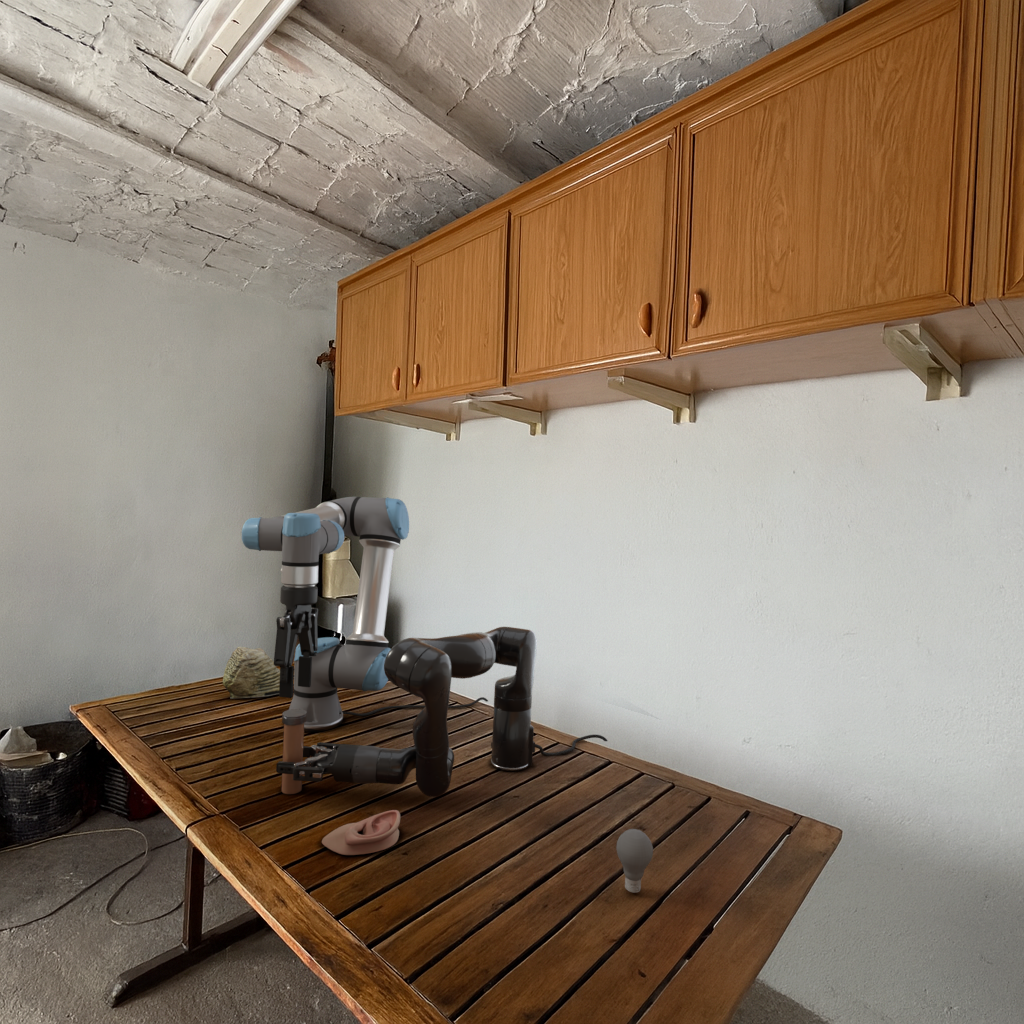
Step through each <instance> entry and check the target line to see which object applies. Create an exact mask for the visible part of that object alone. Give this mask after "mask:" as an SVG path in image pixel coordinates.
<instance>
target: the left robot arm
mask: <svg viewBox="0 0 1024 1024" xmlns="http://www.w3.org/2000/svg"><path fill="white" fill-rule="evenodd" d="M409 533H410V517H409V511H408V508H407V506H406V504H405V502H404V501H403V500H402V499H399V498H391V497H376V496H375V497H374V496H372V497H370V496H346V497H341V498H336V499H332V500H327V501H324V502H321V503H319V504H318V505H317V506H316V507H314V508H313V507H312V508H309V509H304V510H300V511H296V512H288V513H286V514H282V515H279V516H273V517H262V516H261V517H249V518H248V519H247V520H245V522H244V523H243V525H242V528H241V542H242V544H243V545H244V547H245V548H247V549H248V550H252V551H253V550H255V551H259V552H261V551H265V552H266V551H267V552H281V568H280V573H281V574H280V575H281V576H280V583H281V584H282V585H281V587H280V595H279V599H280V600H279V601H280V603H281V604H282V605H284V606H285V610H284V615H283V616H277V617H276V620H275V623H276V634H275V644H274V654H273V655H274V656H273V661H274V665H275V666H276V667H279V670H280V685H279V694H278V697H279V698H287V699H288V698H289V699H291V702H290V704H289V708H288V710H291V709H302V710H305V711H306V712H307V717H306V722H305V723H304V733H316V732H325V731H329V730H332V729H335V728H337V727H339V726H340V725H342V723H343V722H344V715H346V716H347V715H349V716H355V717H366V716H371V715H374V714H375V713H379V712H381V711H386V710H394V709H424V708H425V707H426V706H425V704H423V705H422V704H421V705H420V704H418V705H417V704H413V705H412V704H411V705H410V704H408V705H405V704H404V705H390V706H383V707H380V708H375V709H374V710H371V711H369V712H363V713H362V712H361V713H358V712H352V711H343V709H342V706H341V702H340V699H339V695H338V689H345V690H356V691H363V692H368V691H369V692H377V691H378V692H379V691H381V690H382V689H383V688H384V687H385V686H386V685H387V684H388V682H389V679H388V678H387V677H386V675H385V671H384V662H385V659H386V656H387V654H388V653H389V651H390V650H391V649H392V648H390V647H389V639H387V637H385V628H386V621H387V612H388V605H389V595H390V587H391V579H392V571H393V570H392V569H393V564H394V563H393V562H394V554H395V551H396V550H397V549H399V548H400V547H401V541H402V540H406V539H407V538H408V536H409ZM345 536H347V537H348V536H349V537H359V539H358V542H359V543H360V545H361V546H362V547H363V550H362V558H361V565H360V574H359V582H358V588H357V597H356V604H355V611H354V620H353V625H352V632H351V634H350V635H348V636H347V637H346V638H345V644H341V641H340V639H339V638H338V637H334V636H331V637H330V636H325V637H318V635H319V634H318V617H319V616H318V615H319V608H318V607H312V605H315V604H316V603H317V602H318V592H319V591H318V590H319V589H318V586H317V584H318V583H319V560H320V559H319V558H320V555H324V554H326V555H327V554H332V553H333V552H335V551H336V552H337V551H338V550H339V549H340V548H341V547H342V545H343V544H344V541H345ZM297 642H298V644H297ZM293 662H294V665H293ZM480 701H484V702H489V699H487V698H486V697H483V696H482V697H479V698H477V699H476V700H474V701H473V702H470V703H466V704H465V703H464V704H458V705H448V709H459V708H460V709H461V708H467V707H471V706H474V705H476V704H477V703H478V702H480Z"/></svg>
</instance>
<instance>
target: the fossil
mask: <svg viewBox="0 0 1024 1024" xmlns="http://www.w3.org/2000/svg"><path fill="white" fill-rule="evenodd" d="M222 676H223V677H222V685H223V687H224V688H225V690H226V691H228V693H229V698H230V699H250V698H264V697H271V696H275V695H279V685H280V668H278V667H277V666H275V665H274V659H272V658H271V657H270V656H269V655H268V654H267V653H266V652H265V650H264V649H263V648H260V647H258V648H251V647H247V646H246V647H245V646H238V647H237V648H236V649H235V650H233V651H232V653H231V656H230V657H229V659H228V660H227V663H226V666H225V668H224V671H223V675H222Z"/></svg>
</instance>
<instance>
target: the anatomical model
mask: <svg viewBox="0 0 1024 1024" xmlns="http://www.w3.org/2000/svg"><path fill="white" fill-rule="evenodd" d="M400 823H401V813H400V811H399V810H397V809H392V810H391V809H390V810H387V811H383V812H380V813H377V814H373V815H371V816H369V817H367V818H365V819H362V820H360V821H356V822H349V823H346V824H344V825H341V826H339V827H337V828H335V829H334V830H332V831H331V832H329V833H328V834H326V835H325V836H324V837H323V838H322V840H321V844H322V845H323V846H324V847H325V848H327V849H328V850H330V851H332V852H334V853H337V854H339V855H342V856H356V855H357V856H358V855H366V854H371V853H378V852H382V851H383V850H386V849H388V848H390V847H392V846H394V845H395V844H396V843H397V842H398V840H399V836H400V830H399V827H400Z"/></svg>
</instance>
